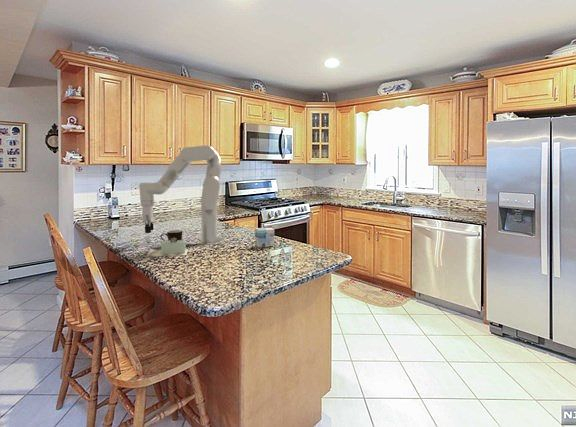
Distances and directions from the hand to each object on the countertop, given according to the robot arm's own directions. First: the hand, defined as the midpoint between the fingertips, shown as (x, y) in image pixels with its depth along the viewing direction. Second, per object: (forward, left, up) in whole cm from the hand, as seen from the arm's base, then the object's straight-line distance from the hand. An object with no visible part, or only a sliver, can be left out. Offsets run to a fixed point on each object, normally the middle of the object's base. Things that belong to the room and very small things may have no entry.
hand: (149, 231), depth 214 cm
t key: (+1, 0, -9) cm, 9 cm away
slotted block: (-16, +27, -7) cm, 32 cm away
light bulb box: (-68, +12, -9) cm, 70 cm away
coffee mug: (-14, +9, -9) cm, 19 cm away
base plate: (-13, +27, -8) cm, 31 cm away
